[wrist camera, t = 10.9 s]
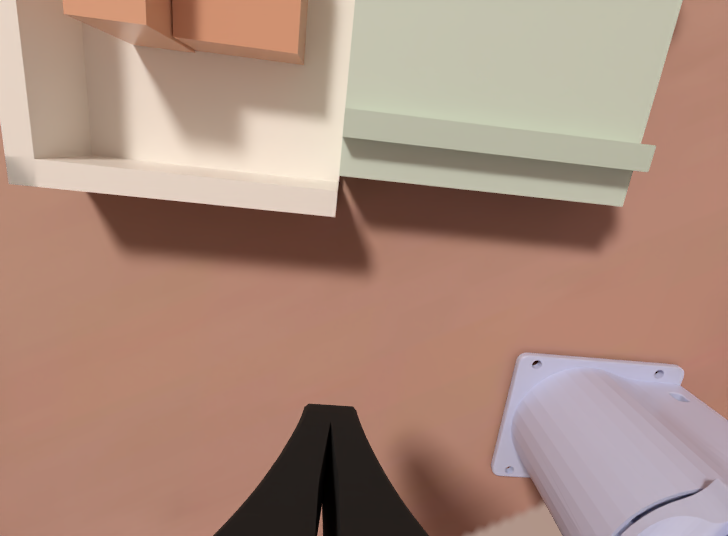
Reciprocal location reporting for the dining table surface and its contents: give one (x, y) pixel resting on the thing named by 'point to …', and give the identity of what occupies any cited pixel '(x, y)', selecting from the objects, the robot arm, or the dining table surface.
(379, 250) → the dining table surface
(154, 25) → the tile
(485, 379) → the dining table surface
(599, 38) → the two-ridged green plate
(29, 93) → the box
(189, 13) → the tile
